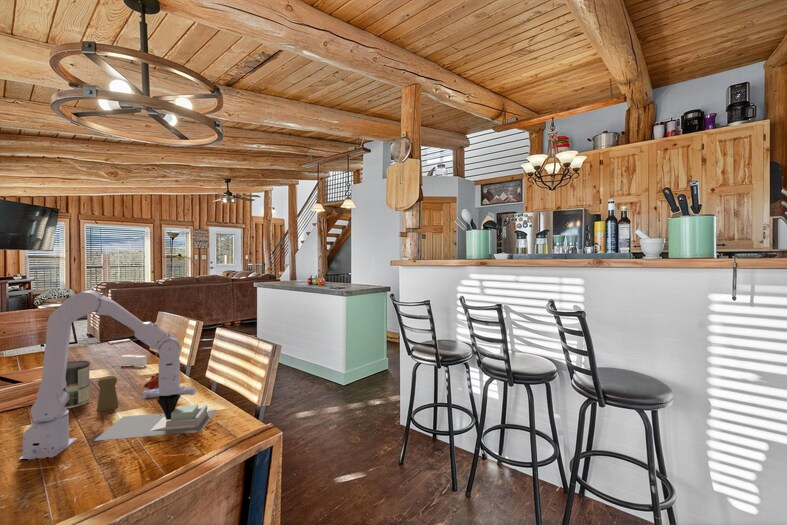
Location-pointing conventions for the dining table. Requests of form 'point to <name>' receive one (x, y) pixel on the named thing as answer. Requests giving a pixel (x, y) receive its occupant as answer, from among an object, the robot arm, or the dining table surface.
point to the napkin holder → (134, 360)
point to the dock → (155, 425)
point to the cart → (184, 412)
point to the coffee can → (77, 383)
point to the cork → (107, 394)
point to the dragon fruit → (153, 382)
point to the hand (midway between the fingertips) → (169, 418)
